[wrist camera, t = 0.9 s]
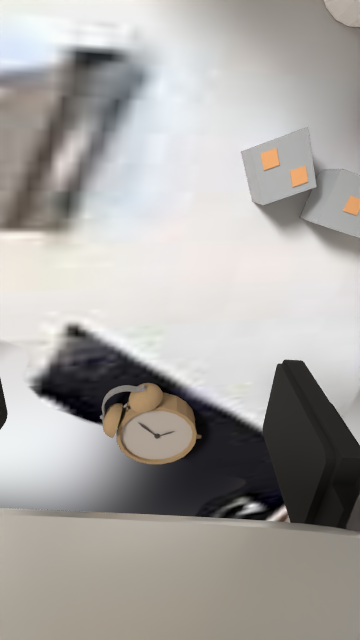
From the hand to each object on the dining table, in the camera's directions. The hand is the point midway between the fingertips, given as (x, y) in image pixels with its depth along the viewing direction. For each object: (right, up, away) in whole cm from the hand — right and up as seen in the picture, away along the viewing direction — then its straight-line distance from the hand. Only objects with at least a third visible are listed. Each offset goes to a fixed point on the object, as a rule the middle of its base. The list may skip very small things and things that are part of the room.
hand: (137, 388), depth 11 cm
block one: (+18, +15, +24) cm, 33 cm away
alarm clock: (-3, -11, +36) cm, 38 cm away
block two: (+11, +18, +22) cm, 31 cm away
